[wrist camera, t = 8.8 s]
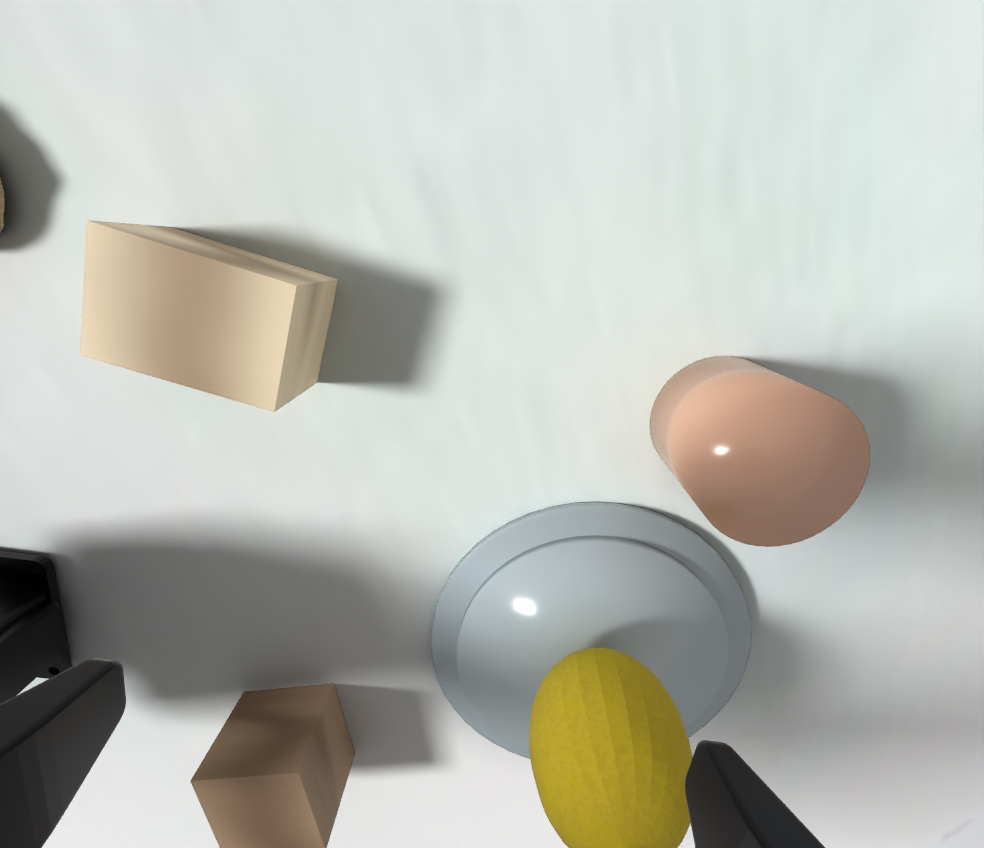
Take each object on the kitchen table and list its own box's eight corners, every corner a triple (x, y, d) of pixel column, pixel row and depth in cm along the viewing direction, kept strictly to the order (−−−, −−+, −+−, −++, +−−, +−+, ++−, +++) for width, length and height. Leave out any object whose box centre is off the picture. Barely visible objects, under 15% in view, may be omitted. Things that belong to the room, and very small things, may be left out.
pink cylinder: (637, 470, 20) (677, 536, 16) (665, 347, 19) (719, 379, 14) (760, 485, 21) (836, 555, 16) (798, 364, 19) (896, 401, 14)
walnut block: (270, 758, 26) (224, 857, 22) (244, 690, 25) (190, 781, 20) (355, 751, 26) (325, 850, 22) (334, 682, 24) (298, 772, 20)
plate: (421, 738, 25) (417, 760, 24) (448, 482, 21) (444, 495, 20) (700, 770, 25) (709, 794, 24) (786, 523, 21) (802, 539, 20)
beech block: (163, 335, 19) (80, 355, 16) (174, 227, 18) (86, 220, 14) (318, 381, 20) (274, 411, 16) (339, 279, 19) (296, 285, 15)
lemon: (679, 670, 22) (770, 889, 14) (573, 727, 23) (605, 957, 16) (608, 582, 21) (665, 772, 13) (499, 647, 22) (495, 856, 14)
